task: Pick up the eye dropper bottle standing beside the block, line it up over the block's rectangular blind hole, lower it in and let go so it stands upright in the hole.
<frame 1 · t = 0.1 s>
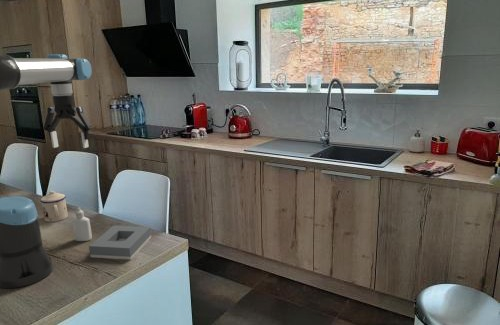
hand: (70, 147, 157), 28 cm above the table, tool pointing down, fingers open, 13 cm apart
hole block: (122, 246, 131), on the table
eye dropper bottle: (83, 239, 138), on the table
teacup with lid: (56, 219, 156), on the table
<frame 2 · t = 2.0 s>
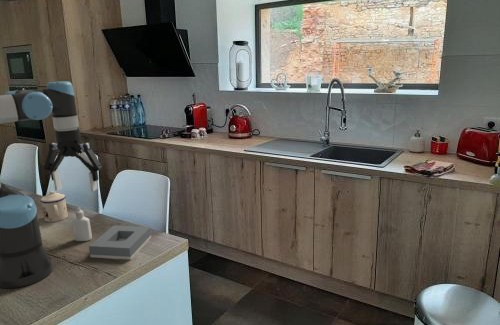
hand: (76, 189, 133), 19 cm above the table, tool pointing down, fingers open, 13 cm apart
nothing on the table moved.
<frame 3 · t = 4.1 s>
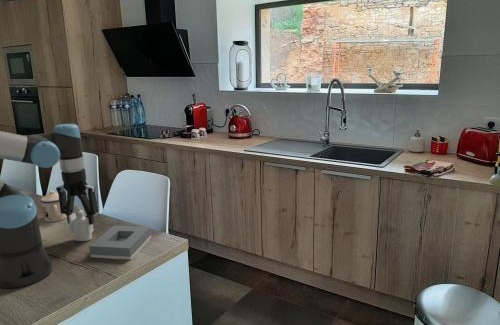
hand: (82, 231, 137), 3 cm above the table, tool pointing down, fingers closed on eye dropper bottle, 6 cm apart
eye dropper bottle: (83, 239, 138), on the table, touching gripper
everything else where it was.
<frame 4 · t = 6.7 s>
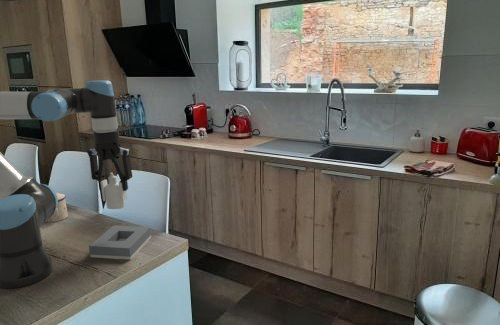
hand: (115, 199, 127), 17 cm above the table, tool pointing down, fingers closed on eye dropper bottle, 6 cm apart
eye dropper bottle: (116, 208, 128), point 14 cm above the table, touching gripper
everything else where it was.
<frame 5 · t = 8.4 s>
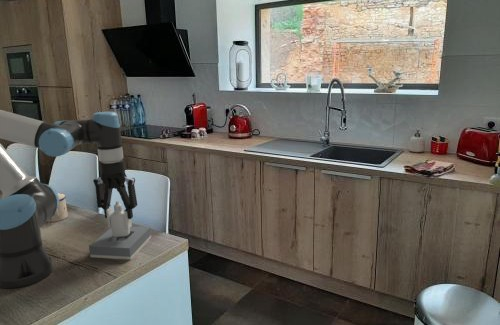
hand: (120, 227, 129), 7 cm above the table, tool pointing down, fingers closed on eye dropper bottle, 6 cm apart
eye dropper bottle: (121, 235, 130), point 4 cm above the table, touching gripper
everything else where it was.
when the fingers open (6 cm above the table, at t = 9.5 s): eye dropper bottle drops 2 cm, resting on hole block.
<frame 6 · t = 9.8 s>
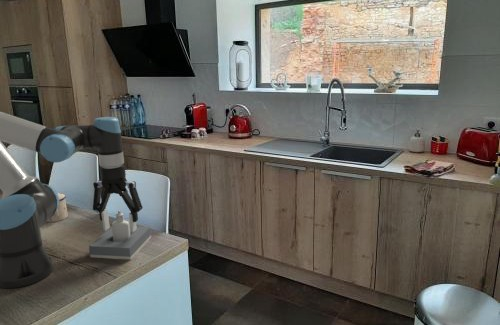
hand: (120, 229, 129), 6 cm above the table, tool pointing down, fingers open, 9 cm apart
eye dropper bottle: (122, 244, 131), point 1 cm above the table, touching hole block
everything else where it was.
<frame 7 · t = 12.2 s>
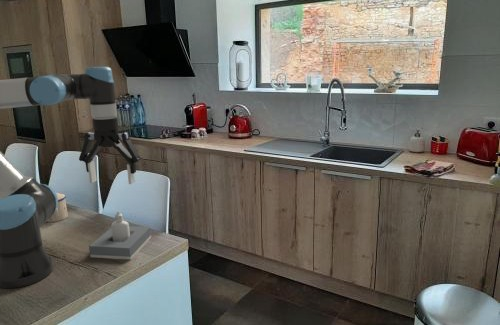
hand: (112, 182, 126), 23 cm above the table, tool pointing down, fingers open, 13 cm apart
nothing on the table moved.
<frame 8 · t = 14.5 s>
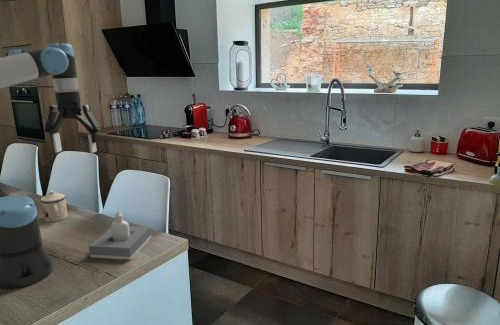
hand: (76, 151, 136), 31 cm above the table, tool pointing down, fingers open, 13 cm apart
nothing on the table moved.
at the end: eye dropper bottle 0.0 cm off-centre on the hole block, point 0.8 cm above the hole block's base; eye dropper bottle tilted 0°; the gripper is holding nothing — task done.
